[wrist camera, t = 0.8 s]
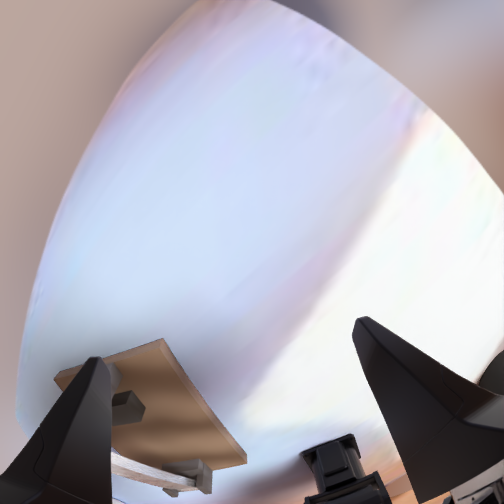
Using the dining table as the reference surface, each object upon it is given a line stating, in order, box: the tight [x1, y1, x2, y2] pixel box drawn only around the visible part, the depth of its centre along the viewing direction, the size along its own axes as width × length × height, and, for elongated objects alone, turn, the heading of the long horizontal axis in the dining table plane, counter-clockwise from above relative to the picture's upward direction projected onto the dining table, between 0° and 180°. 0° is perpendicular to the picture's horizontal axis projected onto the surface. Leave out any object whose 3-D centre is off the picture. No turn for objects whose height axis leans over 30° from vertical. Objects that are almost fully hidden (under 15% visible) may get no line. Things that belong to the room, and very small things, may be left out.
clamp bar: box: [111, 452, 199, 492], centre depth 20 cm, size 16×3×1 cm, turn 23°
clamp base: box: [54, 338, 247, 497], centre depth 23 cm, size 18×14×6 cm
